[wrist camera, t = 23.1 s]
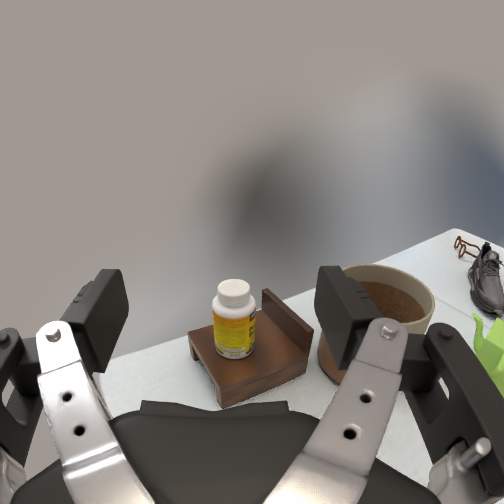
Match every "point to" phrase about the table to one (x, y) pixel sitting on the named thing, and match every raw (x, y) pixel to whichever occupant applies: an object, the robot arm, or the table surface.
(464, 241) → the glasses
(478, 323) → the teapot
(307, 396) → the table surface
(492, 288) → the shoe
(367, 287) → the planter
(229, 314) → the supplement bottle
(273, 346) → the shelf
